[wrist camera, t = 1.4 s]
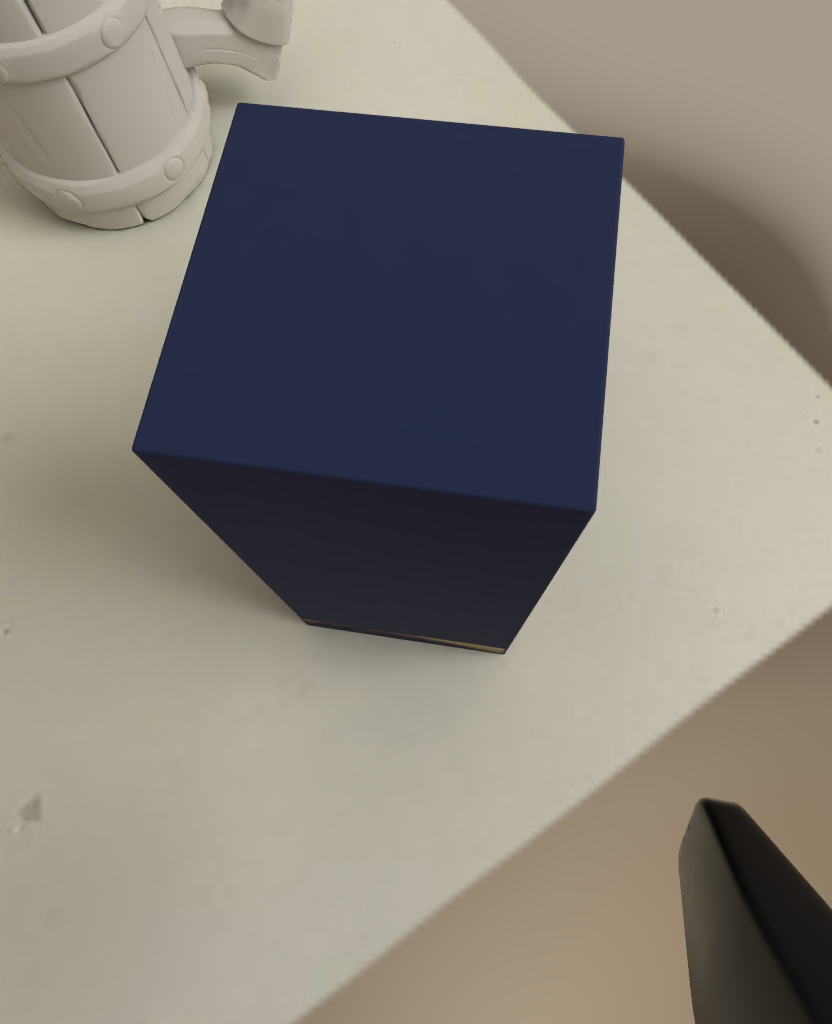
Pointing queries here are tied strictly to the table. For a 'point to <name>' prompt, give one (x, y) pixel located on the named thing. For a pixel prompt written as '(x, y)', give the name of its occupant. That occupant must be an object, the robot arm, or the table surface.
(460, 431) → the navy blue box
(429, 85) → the table surface
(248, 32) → the mug
